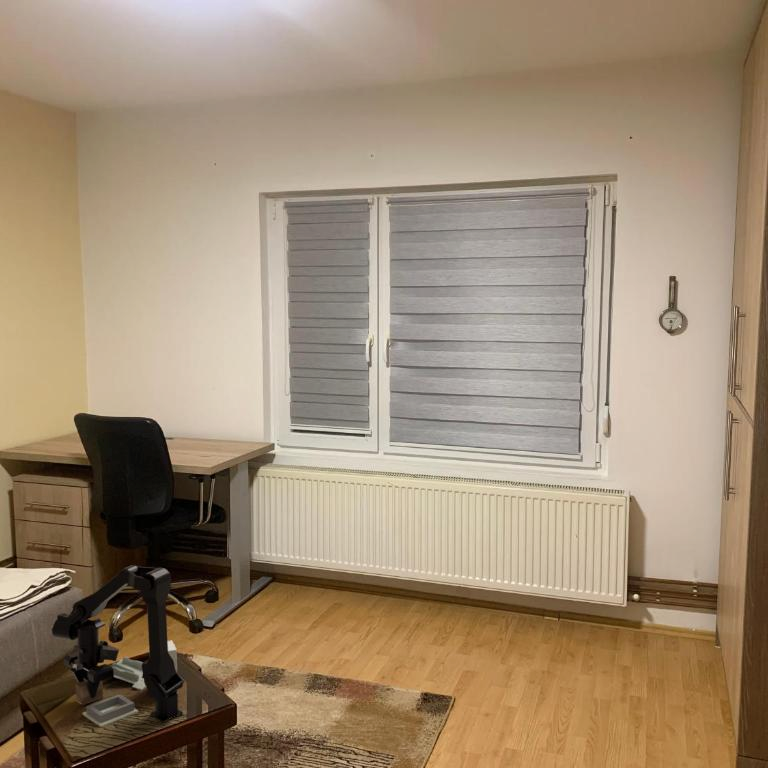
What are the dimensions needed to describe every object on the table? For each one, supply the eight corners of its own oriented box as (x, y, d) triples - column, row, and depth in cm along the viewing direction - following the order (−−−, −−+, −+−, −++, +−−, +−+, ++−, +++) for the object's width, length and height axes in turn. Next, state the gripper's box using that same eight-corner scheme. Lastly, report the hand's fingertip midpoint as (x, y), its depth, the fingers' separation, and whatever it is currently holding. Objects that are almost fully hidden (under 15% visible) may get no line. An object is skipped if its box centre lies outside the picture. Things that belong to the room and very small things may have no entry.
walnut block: (102, 698, 223) (102, 681, 223) (82, 705, 219) (82, 688, 218) (95, 693, 226) (95, 677, 226) (75, 701, 221) (75, 683, 221)
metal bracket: (101, 669, 229) (124, 649, 244) (96, 688, 230) (119, 666, 245) (146, 685, 228) (166, 664, 243) (141, 703, 229) (161, 681, 244)
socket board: (138, 712, 215) (138, 703, 215) (100, 726, 207) (100, 717, 207) (119, 700, 222) (119, 692, 221) (82, 714, 213) (82, 705, 213)
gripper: (131, 642, 221) (132, 695, 222) (98, 625, 233) (99, 676, 234) (93, 653, 213) (95, 709, 214) (62, 636, 225) (63, 689, 226)
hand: (89, 695), depth 222 cm, fingers closed on walnut block, 4 cm apart
